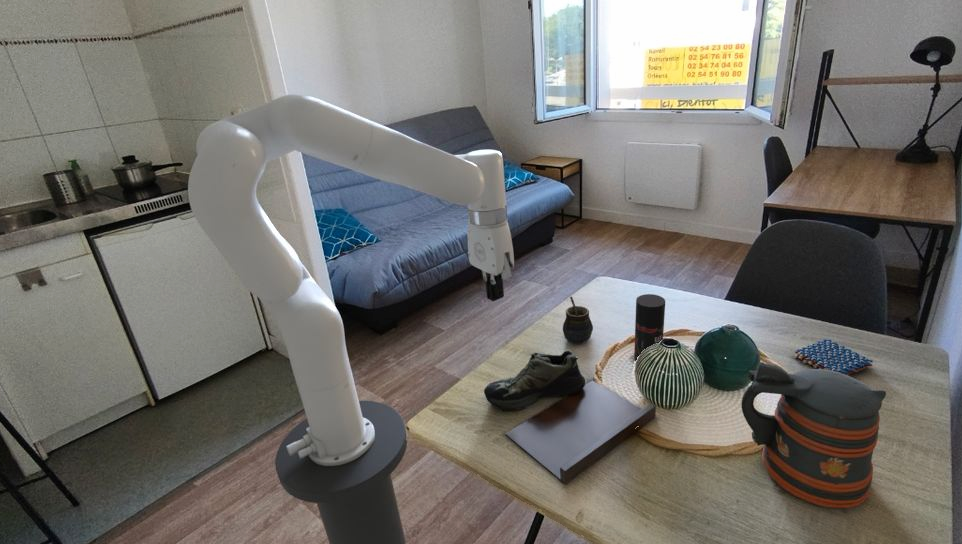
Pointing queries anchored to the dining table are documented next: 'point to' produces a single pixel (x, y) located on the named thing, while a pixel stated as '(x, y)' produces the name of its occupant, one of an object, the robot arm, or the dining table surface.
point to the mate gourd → (577, 324)
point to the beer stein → (816, 433)
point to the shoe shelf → (580, 430)
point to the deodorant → (648, 322)
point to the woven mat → (833, 357)
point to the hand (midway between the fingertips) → (495, 297)
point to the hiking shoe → (537, 381)
